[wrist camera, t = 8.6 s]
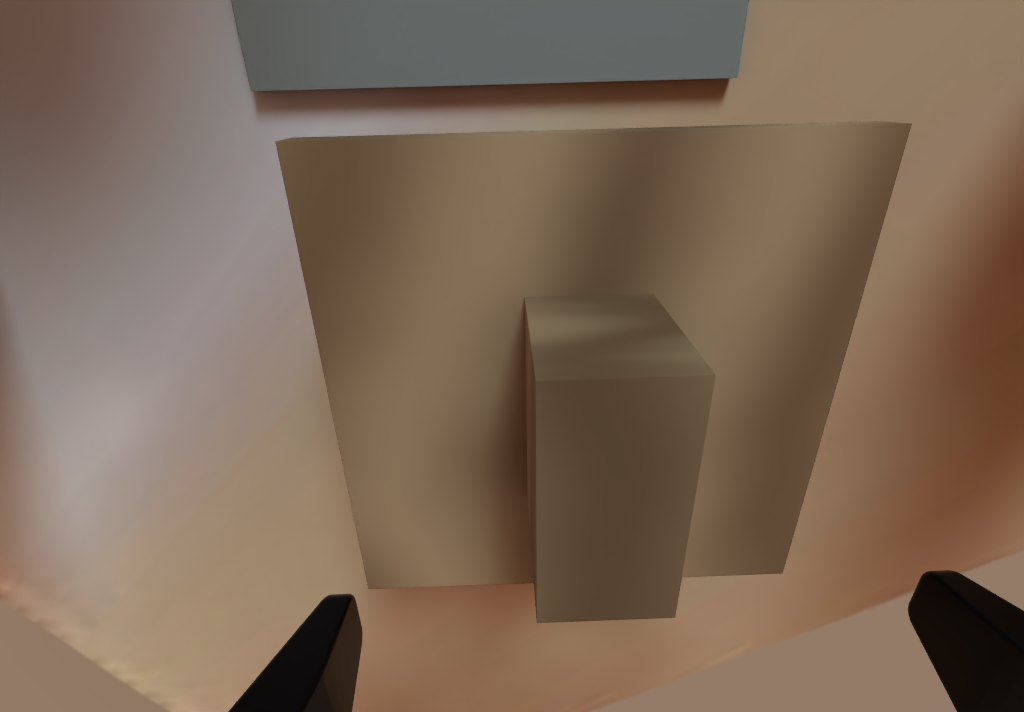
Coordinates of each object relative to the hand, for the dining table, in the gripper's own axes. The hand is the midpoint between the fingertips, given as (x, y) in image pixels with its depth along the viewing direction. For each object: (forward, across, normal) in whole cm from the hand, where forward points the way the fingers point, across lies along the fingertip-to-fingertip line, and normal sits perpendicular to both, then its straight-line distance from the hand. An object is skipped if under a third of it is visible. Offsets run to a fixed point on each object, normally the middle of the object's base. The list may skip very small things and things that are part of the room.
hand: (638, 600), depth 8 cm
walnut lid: (+7, 0, 0) cm, 7 cm away
